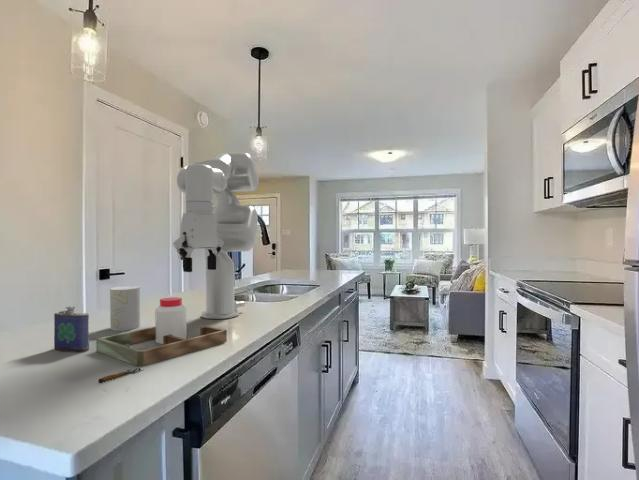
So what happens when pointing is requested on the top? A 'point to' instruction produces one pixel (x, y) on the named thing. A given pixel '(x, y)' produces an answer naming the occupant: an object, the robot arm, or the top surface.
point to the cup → (125, 308)
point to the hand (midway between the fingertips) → (200, 270)
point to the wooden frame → (171, 346)
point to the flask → (71, 331)
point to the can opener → (117, 375)
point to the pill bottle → (170, 319)
